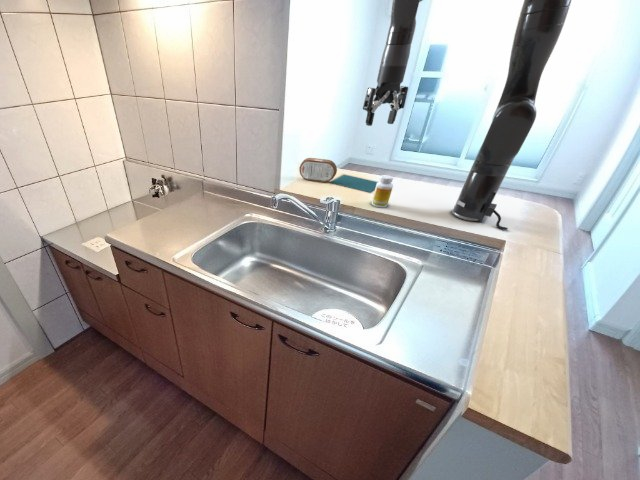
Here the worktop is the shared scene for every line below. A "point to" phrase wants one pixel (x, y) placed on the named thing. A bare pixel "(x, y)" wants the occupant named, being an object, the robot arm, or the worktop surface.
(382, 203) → the supplement bottle
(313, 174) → the tin
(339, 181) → the mat
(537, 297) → the worktop surface
